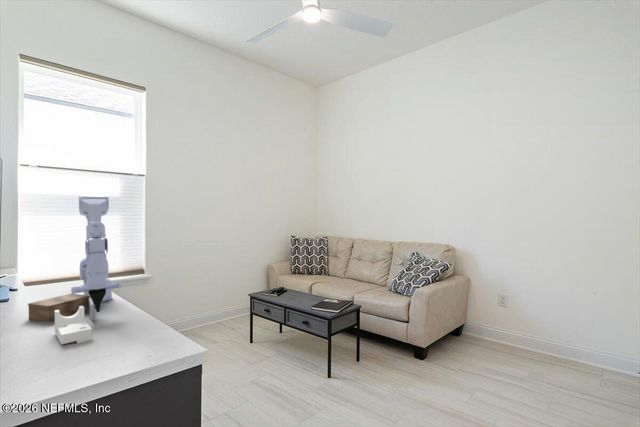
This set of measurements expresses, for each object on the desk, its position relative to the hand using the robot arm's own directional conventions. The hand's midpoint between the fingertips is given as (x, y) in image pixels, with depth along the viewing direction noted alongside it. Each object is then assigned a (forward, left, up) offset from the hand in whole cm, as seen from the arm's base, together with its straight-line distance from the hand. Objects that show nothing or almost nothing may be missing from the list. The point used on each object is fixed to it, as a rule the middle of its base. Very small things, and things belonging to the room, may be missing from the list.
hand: (97, 311), depth 119 cm
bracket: (+15, +9, -3) cm, 18 cm away
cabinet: (+2, -16, -2) cm, 16 cm away
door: (-2, -4, -2) cm, 5 cm away
